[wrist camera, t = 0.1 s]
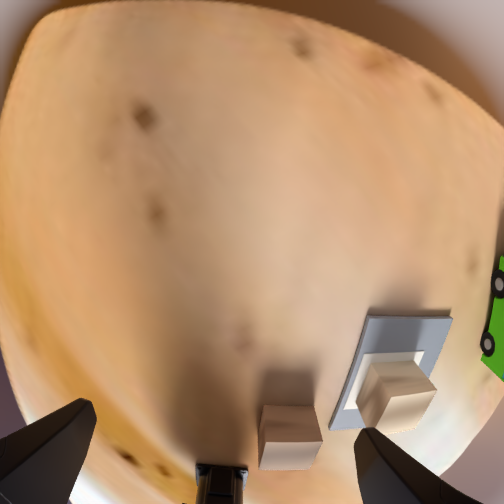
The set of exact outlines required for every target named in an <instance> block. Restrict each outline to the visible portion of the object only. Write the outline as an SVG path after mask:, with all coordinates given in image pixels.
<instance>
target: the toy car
mask: <svg viewBox="0 0 504 504" xmlns="http://www.w3.org/2000/svg"><path fill="white" fill-rule="evenodd" d="M491 288H492V291H493V293H494V294H495V295H496V297H495V298H494V304H493V309H492V315H491V320H490V325H489V330H488V331H487V332H485V333H483V335H482V337H481V343H480V345H481V349H482V351H483V354H482V358H481V361H482V362H483V363H484V364H485V365H486V366H488V367H489V368H490V369H491V370H492V371H493V372H494V373H495V374H496V375H497V376H498V377H499V378H500V379H501V380H502V381H503V382H504V255H503V256H500V264H499V269H498V270H496V271H495V272H494V273H493V274H492V277H491Z"/></svg>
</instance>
